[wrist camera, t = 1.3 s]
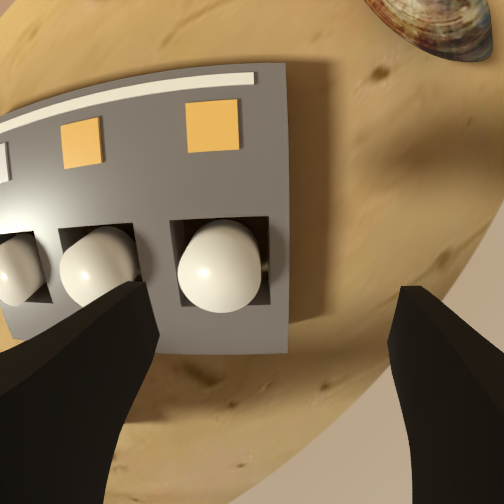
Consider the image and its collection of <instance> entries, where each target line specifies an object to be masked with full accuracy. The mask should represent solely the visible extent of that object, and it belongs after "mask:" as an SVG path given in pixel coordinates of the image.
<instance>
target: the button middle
mask: <svg viewBox="0 0 504 504" xmlns="http://www.w3.org/2000/svg"><path fill="white" fill-rule="evenodd" d="M139 271H140V263H139V258H138V252H137V246H136V244H135V242H134V241H133V240H132V238H131V237H130V236H129V235H128V234H126V233H125V232H124V231H122V230H120V229H118V228H115V227H111V226H103V227H99V228H96V229H94V230H93V231H92V232H90V233H89V234H88V235H86V236H85V237H83V238H82V239H81V240H79V241H78V242H77V243H75V244H74V245H73V246H71V247H70V248H69V249H67V250H66V251H65V253H64V254H63V256H62V258H61V262H60V277H61V281H62V284H63V286H64V288H65V290H66V291H67V293H68V294H69V296H70V297H71V298H72V299H73V300H74V301H75V302H76V303H78V304H79V305H81V306H82V307H84V306H86V305H88V304H89V303H91V302H92V301H94V300H95V299H97V298H99V297H100V296H102V295H103V294H105V293H107V292H108V291H110V290H112V289H113V288H115V287H117V286H119V285H121V284H123V283H125V282H127V281H134V280H135V278H136V277H137V275H138V273H139Z"/></svg>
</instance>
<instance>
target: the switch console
mask: <svg viewBox="0 0 504 504" xmlns="http://www.w3.org/2000/svg"><path fill="white" fill-rule="evenodd" d="M250 216H267V234H268V281H261V282H260V287H259V290H258V292H257V294H256V295H255V297H254V298H253V299H252V300H251V302H249V303H248V304H247V305H246V306H244V307H242V308H241V309H238V310H236V311H233V312H227V313H216V312H210V311H207V310H204V309H202V308H200V307H198V306H196V305H195V304H193V303H192V302H191V301H190V300H189V299H188V298H187V297H186V296H185V294H184V293H183V291H182V289H181V287H180V284H179V280H178V266H179V262H180V260H181V258H182V256H183V254H184V252H185V250H186V244H185V235H184V225H183V219H203V218H225V217H250ZM119 223H133V227H134V233H135V240H136V246H137V252H138V258H139V263H140V269H141V274H142V280H143V282H146V286H147V290H148V293H149V297H150V301H151V305H152V308H153V312H154V316H155V319H156V323H157V326H158V330H159V333H160V337H159V340H158V344H157V347H156V351H155V353H156V354H185V355H248V354H277V353H288V323H289V255H290V215H289V147H288V113H287V87H286V65H285V63H245V64H227V65H214V66H203V67H193V68H185V69H177V70H170V71H163V72H157V73H150V74H145V75H139V76H134V77H129V78H124V79H119V80H114V81H110V82H106V83H101V84H97V85H93V86H89V87H86V88H82V89H78V90H75V91H71V92H68V93H64V94H61V95H58V96H54V97H51V98H48V99H45V100H42V101H39V102H36V103H33V104H31V105H28V106H25V107H22V108H20V109H17V110H14V111H12V112H9V113H7V114H4V115H2V116H0V245H1V244H3V243H4V242H6V241H8V240H9V239H11V238H13V237H14V234H13V233H16V232H25V231H34V234H35V239H36V243H37V247H38V252H39V256H40V260H41V263H42V267H43V271H44V274H45V278H46V281H47V283H44V284H43V285H42V286H41V287H40V288H39V289H38V290H37V291H35V292H34V293H33V294H32V295H31V296H30V297H29V298H28V299H27V300H26V301H25V302H23V303H22V304H21V305H19V306H10V305H8V304H6V303H4V302H3V301H2V300H0V307H1V310H2V312H3V315H4V318H5V320H6V323H7V325H8V327H9V330H10V332H11V335H12V337H13V339H19V340H25V341H27V340H29V339H31V338H33V337H35V336H36V335H38V334H40V333H42V332H44V331H45V330H47V329H49V328H50V327H52V326H53V325H55V324H57V323H58V322H60V321H62V320H63V319H65V318H67V317H69V316H70V315H72V314H73V313H75V312H77V311H78V310H80V309H81V308H83V307H82V306H81V305H79V304H78V303H76V302H75V301H74V300H73V299H72V298H71V297H70V296H69V294H68V293H67V291H66V290H65V288H64V286H63V284H62V281H61V277H60V262H61V258H62V256H63V254H64V253H65V251H66V250H67V249H69V248H70V247H71V246H73V245H74V244H75V243H77V242H78V241H79V240H81V239H82V238H83V237H85V233H84V228H83V226H92V225H105V224H119Z"/></svg>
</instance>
